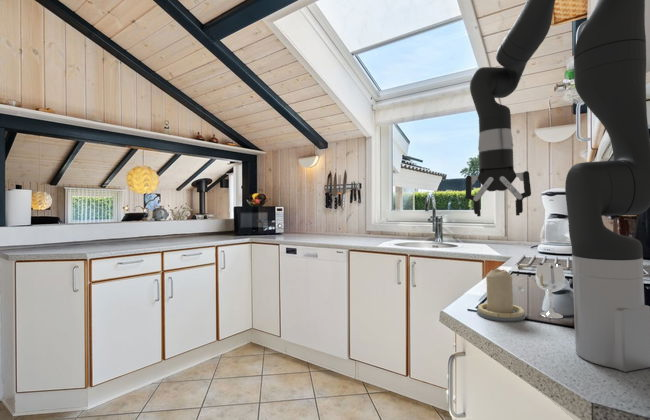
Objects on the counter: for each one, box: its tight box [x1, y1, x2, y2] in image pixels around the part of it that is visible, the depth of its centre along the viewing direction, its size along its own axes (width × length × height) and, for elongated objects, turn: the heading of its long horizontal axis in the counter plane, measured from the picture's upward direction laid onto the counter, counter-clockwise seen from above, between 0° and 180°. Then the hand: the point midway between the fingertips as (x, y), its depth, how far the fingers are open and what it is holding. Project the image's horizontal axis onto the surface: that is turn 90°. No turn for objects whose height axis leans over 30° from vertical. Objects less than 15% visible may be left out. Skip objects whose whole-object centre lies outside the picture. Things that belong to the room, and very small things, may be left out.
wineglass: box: [535, 262, 566, 320], centre depth 80 cm, size 6×6×12 cm
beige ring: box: [476, 302, 526, 323], centre depth 82 cm, size 10×10×2 cm
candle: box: [485, 268, 514, 313], centre depth 82 cm, size 6×6×10 cm
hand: (497, 215), depth 84 cm, fingers open, 8 cm apart
